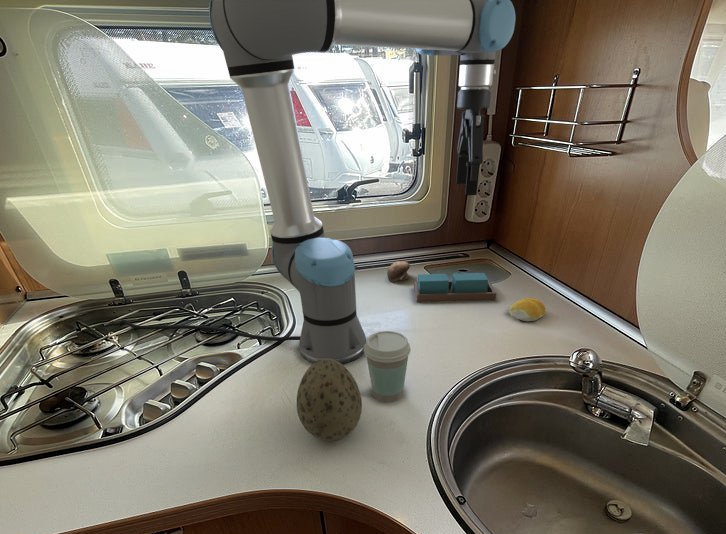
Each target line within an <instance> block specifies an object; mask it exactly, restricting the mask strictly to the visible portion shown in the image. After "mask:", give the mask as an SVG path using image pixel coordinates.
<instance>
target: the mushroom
mask: <svg viewBox="0 0 726 534" xmlns="http://www.w3.org/2000/svg"><path fill="white" fill-rule="evenodd" d="M410 268H411V265H410V263H408V262H407V261H400V260H398V261H395V262H392V264H390V266H389V267H388V269H387V272H386V275H387V279H388V281H389V282H391V283H394V282H397V281H405V280H406V279H409V278H410V277H411V274H409V273H408V271H409V269H410Z"/></svg>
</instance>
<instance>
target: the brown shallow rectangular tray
mask: <svg viewBox="0 0 726 534" xmlns="http://www.w3.org/2000/svg"><path fill="white" fill-rule="evenodd" d="M451 287H452V280H449V286H448V293H444V294H420V293H419V289H418V280H417V281H416V280H415V281H413V290H414V291H413V292H414V295H415V300H416V303H443V302H444V303H445V302H446V303H447V302H483V301H484V302H486V301H487V302H489V301H496V298H497V292H496V289H494V287H493V284H492V283H491V282H490V280H489V279H488V286H487V292H485V293H452V291H451Z"/></svg>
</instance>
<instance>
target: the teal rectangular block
mask: <svg viewBox="0 0 726 534" xmlns="http://www.w3.org/2000/svg"><path fill="white" fill-rule="evenodd" d="M488 280H489V279H488V277H487V274H486V273H485V272H464V273H463V272H461V273H460V272H459V273H458V272H457V273H452V276H451V281H452V287H451V291H452V293H485V292H487V286H488Z"/></svg>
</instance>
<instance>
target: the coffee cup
mask: <svg viewBox="0 0 726 534" xmlns="http://www.w3.org/2000/svg"><path fill="white" fill-rule="evenodd" d="M410 353H411V344H410V343H409V340H408V338H407V337H406V336H405V335H404V334H403V333H401V332H398V331H393V330H381V331H376V332H374V333H372V334H370V335H369V336H368V337H366V344H365V346H364V353H363V354H364V355H365V357H366V363H367V367H368V374H369V378H370V385H371V391H372V395H373V398H374V399H375V400H377V401H379V402H382V403H395V402H397V401H399V400H401V398H402V397H403V394H404V387H405V380H406V374H407V368H408V362H409V355H410Z"/></svg>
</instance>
